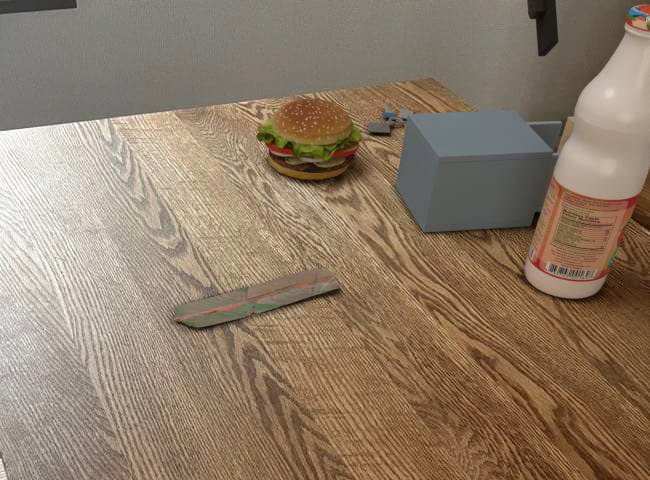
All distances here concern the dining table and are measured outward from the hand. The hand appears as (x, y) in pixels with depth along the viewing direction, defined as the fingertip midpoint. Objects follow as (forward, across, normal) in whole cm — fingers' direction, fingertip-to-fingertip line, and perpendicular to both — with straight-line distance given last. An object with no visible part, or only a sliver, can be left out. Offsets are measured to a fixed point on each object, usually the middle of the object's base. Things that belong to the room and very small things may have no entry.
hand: (609, 48), depth 85 cm
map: (+21, +37, -12) cm, 44 cm away
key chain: (-13, +7, -45) cm, 48 cm away
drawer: (+6, -6, -25) cm, 26 cm away
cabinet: (+7, +6, -26) cm, 27 cm away
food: (-3, +24, -36) cm, 44 cm away
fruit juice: (+21, 0, -12) cm, 24 cm away
